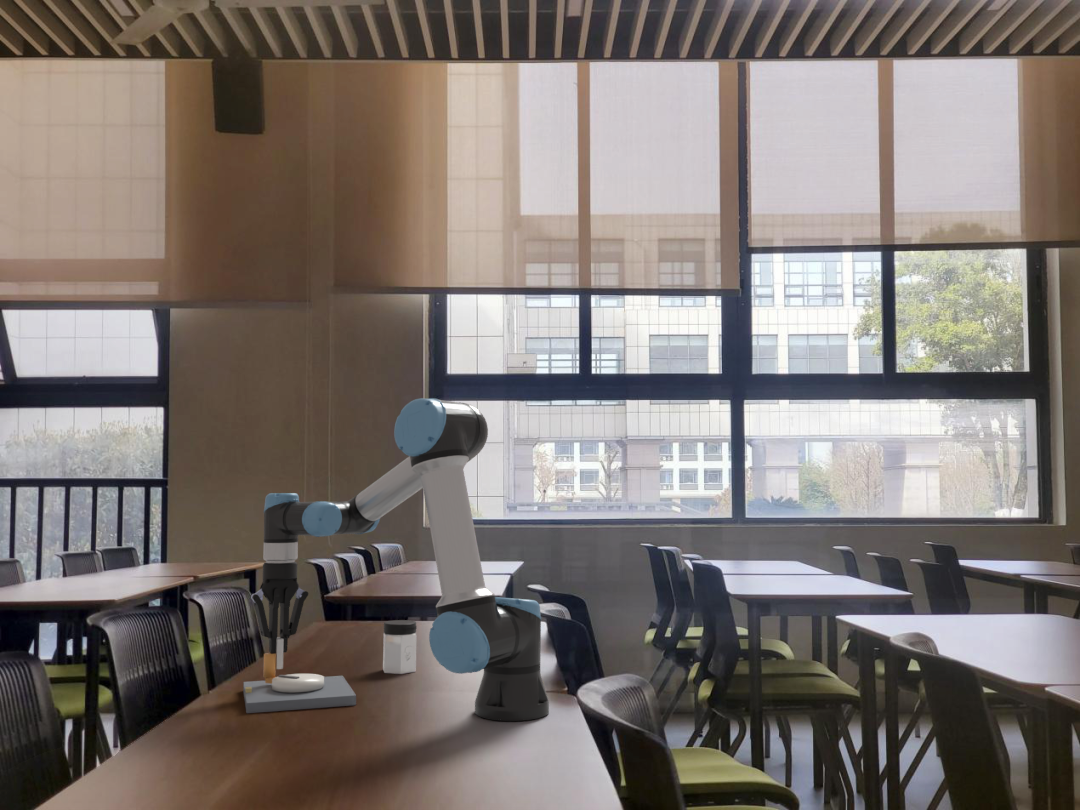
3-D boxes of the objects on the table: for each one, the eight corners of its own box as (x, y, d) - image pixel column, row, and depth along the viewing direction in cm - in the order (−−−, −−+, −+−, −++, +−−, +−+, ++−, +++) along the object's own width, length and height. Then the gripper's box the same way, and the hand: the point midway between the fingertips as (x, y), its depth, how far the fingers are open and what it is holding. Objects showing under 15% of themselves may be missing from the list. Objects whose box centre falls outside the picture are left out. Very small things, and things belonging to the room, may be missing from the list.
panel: (356, 705, 192) (356, 691, 192) (246, 713, 184) (246, 699, 185) (342, 684, 212) (342, 672, 213) (243, 690, 205) (243, 678, 205)
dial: (334, 684, 201) (334, 654, 202) (302, 694, 191) (302, 662, 192) (281, 678, 207) (281, 649, 208) (247, 688, 197) (248, 657, 198)
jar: (393, 675, 223) (394, 625, 224) (375, 670, 229) (376, 622, 230) (423, 670, 229) (424, 622, 230) (404, 666, 235) (405, 618, 236)
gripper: (302, 559, 213) (299, 662, 210) (246, 561, 205) (243, 668, 203) (314, 561, 207) (311, 667, 204) (257, 563, 199) (254, 674, 197)
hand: (277, 667), depth 204 cm, fingers closed
